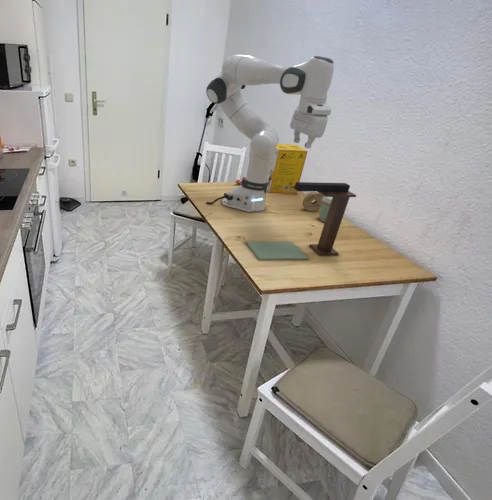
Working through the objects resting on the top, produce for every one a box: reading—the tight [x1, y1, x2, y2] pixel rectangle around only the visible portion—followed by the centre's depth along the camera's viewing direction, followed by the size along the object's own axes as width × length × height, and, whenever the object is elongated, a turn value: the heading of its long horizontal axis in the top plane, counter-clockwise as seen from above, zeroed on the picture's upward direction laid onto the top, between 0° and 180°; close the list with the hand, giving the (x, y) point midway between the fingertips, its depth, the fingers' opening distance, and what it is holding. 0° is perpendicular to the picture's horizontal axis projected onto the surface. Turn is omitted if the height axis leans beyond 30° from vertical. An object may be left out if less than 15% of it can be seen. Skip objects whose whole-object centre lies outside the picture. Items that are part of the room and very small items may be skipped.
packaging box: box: [267, 143, 308, 195], centre depth 214 cm, size 16×16×25 cm
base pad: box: [246, 241, 309, 261], centre depth 146 cm, size 20×14×1 cm
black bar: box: [294, 181, 351, 193], centre depth 135 cm, size 20×3×2 cm, turn 96°
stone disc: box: [302, 191, 324, 212], centre depth 187 cm, size 10×4×10 cm, turn 89°
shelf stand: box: [309, 190, 357, 256], centre depth 142 cm, size 14×10×26 cm
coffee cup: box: [318, 196, 333, 223], centre depth 176 cm, size 9×8×12 cm
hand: (301, 145), depth 138 cm, fingers open, 8 cm apart
